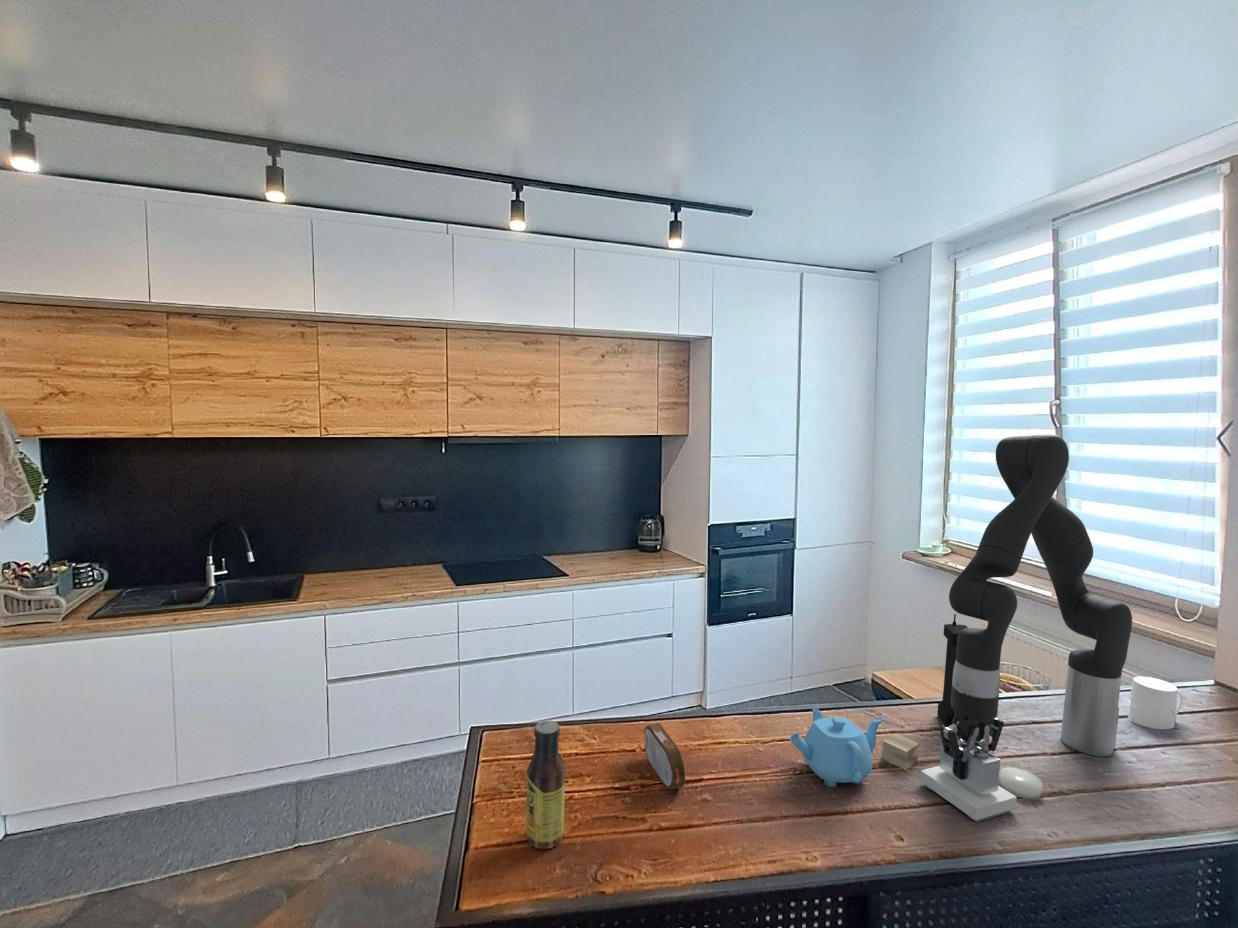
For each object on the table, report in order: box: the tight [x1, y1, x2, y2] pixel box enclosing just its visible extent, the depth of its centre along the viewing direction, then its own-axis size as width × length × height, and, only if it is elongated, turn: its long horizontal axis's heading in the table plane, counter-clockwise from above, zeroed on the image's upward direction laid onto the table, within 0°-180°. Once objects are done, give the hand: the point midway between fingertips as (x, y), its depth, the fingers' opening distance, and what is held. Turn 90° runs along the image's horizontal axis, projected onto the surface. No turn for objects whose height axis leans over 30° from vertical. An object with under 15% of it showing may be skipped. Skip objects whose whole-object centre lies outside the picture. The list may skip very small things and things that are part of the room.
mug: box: [1127, 676, 1184, 730], centre depth 147 cm, size 12×9×8 cm
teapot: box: [789, 708, 885, 788], centre depth 122 cm, size 15×14×11 cm
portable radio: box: [937, 613, 969, 727], centre depth 142 cm, size 8×6×25 cm
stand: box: [919, 765, 1018, 823], centre depth 116 cm, size 10×12×3 cm
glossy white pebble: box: [998, 766, 1043, 800], centre depth 120 cm, size 7×7×2 cm
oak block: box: [881, 733, 919, 771], centre depth 128 cm, size 5×5×4 cm
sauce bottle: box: [525, 719, 566, 850], centre depth 101 cm, size 6×6×20 cm
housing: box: [939, 738, 1001, 795], centre depth 115 cm, size 4×9×7 cm, turn 21°
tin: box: [643, 722, 686, 791], centre depth 120 cm, size 15×3×8 cm, turn 19°
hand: (968, 774), depth 116 cm, fingers closed on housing, 4 cm apart
